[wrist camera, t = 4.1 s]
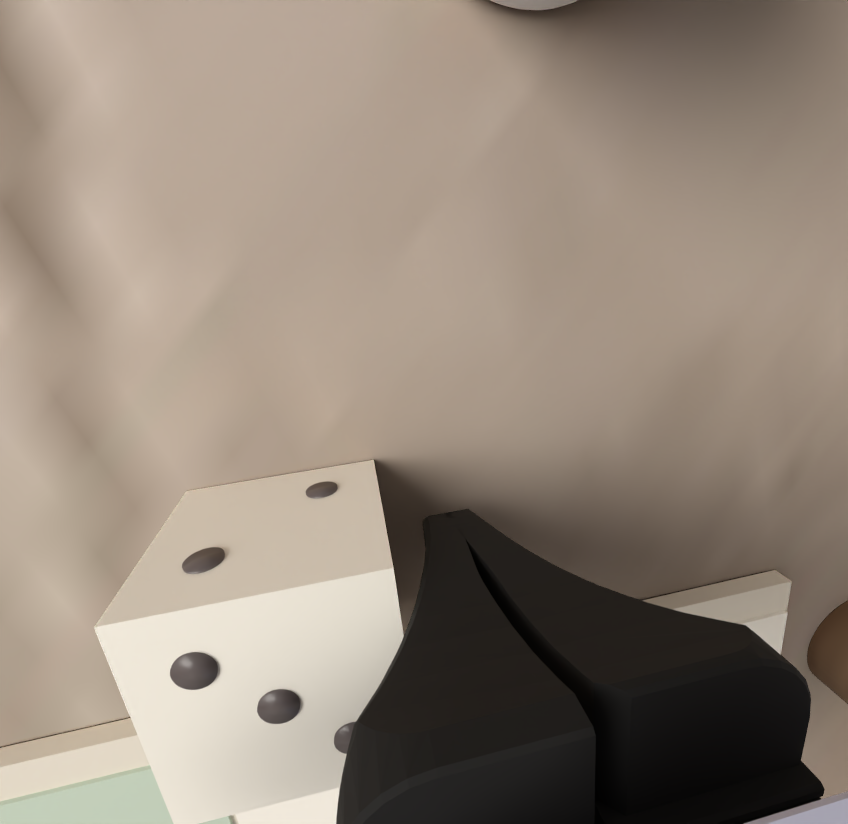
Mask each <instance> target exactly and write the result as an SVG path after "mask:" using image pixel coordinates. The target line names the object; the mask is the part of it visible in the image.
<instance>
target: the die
mask: <svg viewBox="0 0 848 824" xmlns="http://www.w3.org/2000/svg"><path fill="white" fill-rule="evenodd" d="M94 629H95V631H96V634H97V636H98V639H99V641H100V644H101V646H102V649H103V651H104V653H105V656H106V658H107V661H108V663H109V666H110V668H111V671H112V673H113V676H114V678H115V681H116V683H117V686H118V688H119V690H120V693H121V695H122V698H123V700H124V703H125V705H126V708H127V710H128V713H129V715H130V718H131V720H132V723H133V725H134V727H135V730H136V732H137V735H138V737H139V740H140V742H141V745H142V747H143V750H144V752H145V755H146V757H147V760H148V762H149V764H150V767H151V769H152V772H153V774H154V777H155V779H156V782H157V784H158V787H159V789H160V792H161V794H162V797H163V799H164V801H165V804H166V806H167V809H168V811H169V814H170V816H171V819H172V821H173V824H199V823H203V822H207V821H211V820H215V819H219V818H223V817H227V816H230V815H234V814H238V813H242V812H246V811H250V810H254V809H258V808H262V807H265V806H269V805H273V804H277V803H281V802H285V801H289V800H293V799H296V798H300V797H304V796H308V795H312V794H316V793H320V792H324V791H328V790H331V789H335V788H339V787H340V784H341V779H342V773H343V768H344V764H345V759H346V755H347V750H348V746H349V743H350V739H351V735H352V731H353V727H354V724H355V722H356V721H357V719H358V718H359V716H360V714H361V713H362V711H363V710H364V708H365V707H366V705H367V704H368V702H369V701H370V699H371V698H372V696H373V695H374V693H375V692H376V690H377V688H378V687H379V685H380V683H381V682H382V680H383V678H384V676H385V674H386V672H387V670H388V668H389V666H390V664H391V662H392V661H393V659H394V657H395V655H396V653H397V651H398V649H399V646H400V644H401V642H402V640H403V637H404V635H403V628H402V622H401V615H400V605H399V598H398V592H397V585H396V580H395V575H394V568H393V563H392V557H391V552H390V546H389V541H388V535H387V530H386V524H385V519H384V513H383V508H382V502H381V497H380V492H379V486H378V481H377V475H376V470H375V464H374V460H369V461H363V462H357V463H351V464H345V465H339V466H333V467H327V468H321V469H315V470H309V471H303V472H297V473H291V474H285V475H279V476H273V477H267V478H261V479H255V480H249V481H243V482H237V483H231V484H225V485H219V486H213V487H207V488H201V489H195V490H189V491H186V492H185V494H184V495H183V497H182V498H181V500H180V501H179V503H178V504H177V506H176V507H175V509H174V510H173V512H172V513H171V514H170V516H169V517H168V519H167V520H166V522H165V523H164V525H163V526H162V528H161V529H160V531H159V532H158V534H157V535H156V537H155V538H154V540H153V541H152V543H151V544H150V545H149V547H148V548H147V550H146V551H145V553H144V554H143V556H142V557H141V559H140V560H139V562H138V563H137V565H136V566H135V568H134V569H133V571H132V572H131V574H130V575H129V576H128V578H127V579H126V581H125V582H124V584H123V585H122V587H121V588H120V590H119V591H118V593H117V594H116V596H115V597H114V599H113V600H112V602H111V603H110V605H109V606H108V607H107V609H106V610H105V612H104V613H103V615H102V616H101V618H100V619H99V621H98V622H97V624H96V625H95V627H94Z"/></svg>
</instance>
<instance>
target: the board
mask: <svg viewBox="0 0 848 824" xmlns="http://www.w3.org/2000/svg"><path fill="white" fill-rule="evenodd" d="M791 583H792V581H791V580H789V579H788V578H786V577H785V576H783V575H782V574H780V573H779V572H778V571H776V570H773V571H768V572H764V573H760V574H755V575H751V576H746V577H742V578H738V579H733V580H729V581H725V582H720V583H716V584H712V585H707V586H703V587H699V588H694V589H690V590H685V591H681V592H677V593H672V594H668V595H664V596H659V597H655V598H651V599H646V600H642V601H644V602H648V603H651V604H654V605H658V606H662V607H665V608H669V609H673V610H676V611H680V612H684V613H688V614H693V615H698V616H703V617H708V618H712V619H717V620H722V621H727V622H732V623H737V624H742V625H746V626H747V627H749V628H750V629H751V630H752V631H754V632H755V633H756V634H757V635H758V636H760V637H761V638H762V639H763V640H764V641H765V642H766V643H768V644H769V645H770V646H771V647H772V648H773V649H775V650H776V651H777V652H778V653H779V654H780V655H781V650H782V644H783V638H784V632H785V626H786V620H787V614H788V612H787V607H788V601H789V595H790V589H791ZM339 790H340V787H339V788H335V789H331V790H328V791H324V792H320V793H316V794H312V795H308V796H304V797H300V798H296V799H293V800H289V801H285V802H281V803H277V804H273V805H269V806H265V807H262V808H258V809H254V810H250V811H246V812H242V813H238V814H234V815H230V816H227V817H223V818H219V819H215V820H211V821H207V822H203V823H199V824H336V817H337V807H338V798H339ZM0 824H173V821H172V819H171V816H170V814H169V811H168V809H167V806H166V804H165V801H164V799H163V797H162V794H161V792H160V789H159V787H158V784H157V782H156V779H155V777H154V774H153V772H152V769H151V767H150V764H149V762H148V760H147V757H146V755H145V752H144V750H143V747H142V745H141V742H140V740H139V737H138V735H137V732H136V730H135V727H134V725H133V723H132V720H131V718H128V719H124V720H119V721H115V722H111V723H106V724H102V725H98V726H93V727H89V728H85V729H80V730H76V731H72V732H67V733H63V734H58V735H54V736H50V737H45V738H41V739H37V740H32V741H28V742H24V743H19V744H15V745H11V746H6V747H2V748H0Z"/></svg>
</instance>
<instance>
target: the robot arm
mask: <svg viewBox="0 0 848 824" xmlns="http://www.w3.org/2000/svg"><path fill="white" fill-rule="evenodd" d="M423 530H424V539H425V547H426V552H425V562H424V569H423V574H422V579H421V584H420V589H419V593H418V596H417V600H416V604H415V607H414V610H413V613H412V616H411V619H410V622H409V624H408V627H407V629H406V632H405V634H404V637H403V640H402V642H401V644H400V646H399V649H398V651H397V653H396V655H395V657H394V659H393V661H392V662H391V664H390V666H389V668H388V670H387V672H386V674H385V676H384V678H383V680H382V682H381V683H380V685H379V687H378V688H377V690H376V692H375V693H374V695H373V696H372V698H371V699H370V701H369V702H368V704H367V705H366V707H365V708H364V710H363V711H362V713H361V714H360V716H359V718H358V719H357V721H356V722H355V724H354V727H353V731H352V735H351V739H350V743H349V746H348V750H347V755H346V759H345V764H344V768H343V773H342V779H341V784H340V790H339V798H338V807H337V817H336V824H848V791H847V792H843V793H840V794H837V795H834V796H831V797H827V798H824V799H821V798H820V797H821V796H823V794H824V787H823V785H822V783H821V781H820V780H819V779H818V778H817V777H816V776H815V775H814V774H813V773H812V772H811V771H810V770H809V769H808V768H807V767H806V765H805V764H804V763H803V762H802V761H801V757H802V752H803V747H804V742H805V737H806V733H807V728H808V723H809V718H810V704H811V697H810V692H809V688H808V685H807V682H806V679H805V678H804V677H803V676H802V675H801V673H800V672H799V671H798V670H797V669H796V668H795V667H794V666H793V665H792V664H791V663H790V662H788V661H787V660H786V659H785V658H784V657H783V656H781V655H780V654H779V653H778V652H777V651H776V650H775V649H773V648H772V647H771V646H770V645H769V644H768V643H766V642H765V641H764V640H763V639H762V638H761V637H760V636H758V635H757V634H756V633H755V632H754V631H752V630H751V629H750V628H749V627H747V626H746V625H742V624H737V623H732V622H727V621H722V620H717V619H712V618H708V617H703V616H698V615H693V614H688V613H684V612H680V611H676V610H673V609H669V608H665V607H662V606H658V605H654V604H651V603H648V602H644V601H641V600H638V599H635V598H632V597H629V596H626V595H623V594H620V593H618V592H615V591H612V590H609V589H607V588H604V587H601V586H599V585H596V584H594V583H591V582H589V581H587V580H584V579H582V578H580V577H578V576H576V575H574V574H571V573H569V572H567V571H565V570H563V569H561V568H559V567H557V566H555V565H553V564H551V563H549V562H547V561H546V560H544V559H542V558H540V557H539V556H537V555H535V554H533V553H532V552H530V551H528V550H527V549H525V548H523V547H522V546H520V545H519V544H517V543H516V542H514V541H513V540H511V539H510V538H508V537H507V536H505V535H504V534H502V533H501V532H499V531H498V530H496V529H495V528H494V527H492V526H491V525H490V524H488V523H487V522H485V521H484V520H483V519H481V518H480V517H479V516H477V515H476V514H475V513H473V512H472V511H470V510H469V509H465V510H460V511H455V512H449V513H444V514H439V515H433V516H428V517H426V518H425V519H424V520H423Z"/></svg>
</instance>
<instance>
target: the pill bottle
mask: <svg viewBox="0 0 848 824" xmlns="http://www.w3.org/2000/svg"><path fill="white" fill-rule="evenodd" d="M490 1H492V2H495V3H498V4H501V5H504V6H507V7H512V8H516V9H523V10H546V9H553V8H558V7H561V6H564V5H568V4H571V3H574V2H576V1H578V0H490Z"/></svg>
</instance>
